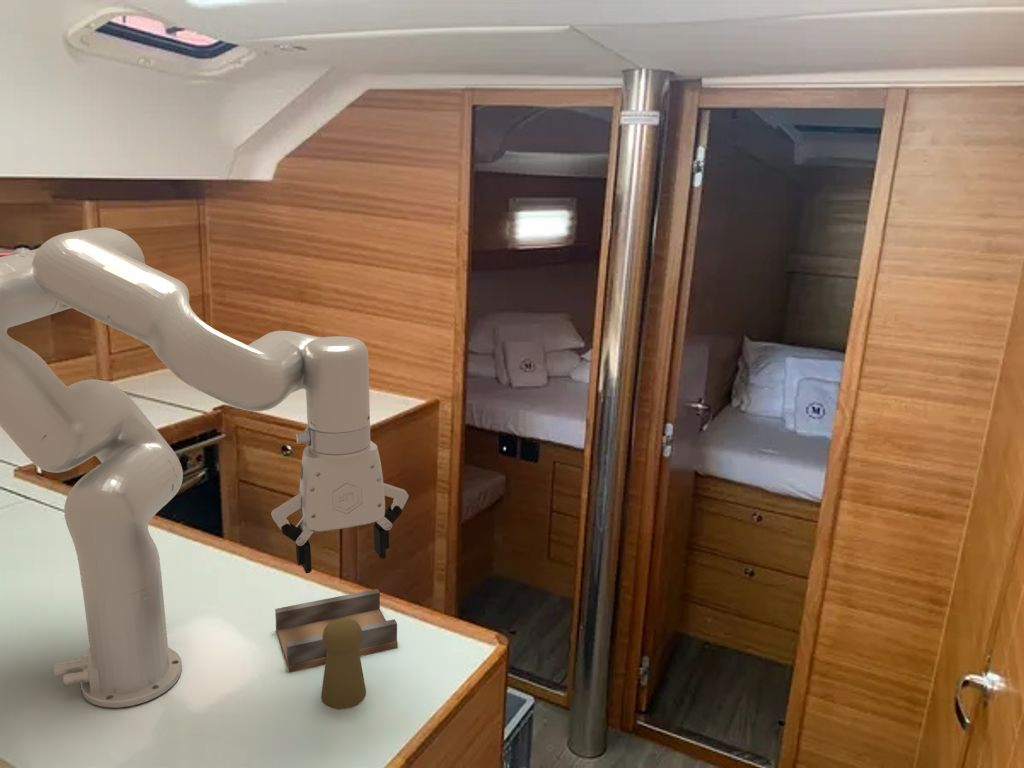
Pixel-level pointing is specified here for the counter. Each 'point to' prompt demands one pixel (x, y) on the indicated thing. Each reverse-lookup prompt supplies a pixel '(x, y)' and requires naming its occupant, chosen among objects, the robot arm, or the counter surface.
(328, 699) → the olive brown pawn
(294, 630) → the track
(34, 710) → the counter surface
